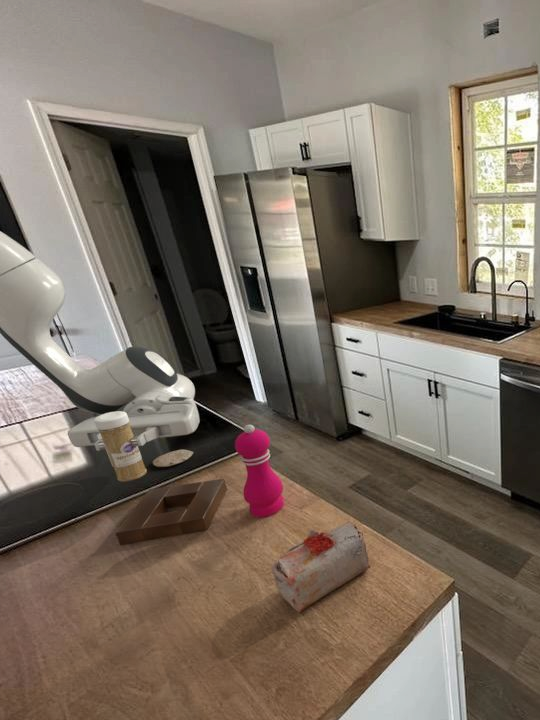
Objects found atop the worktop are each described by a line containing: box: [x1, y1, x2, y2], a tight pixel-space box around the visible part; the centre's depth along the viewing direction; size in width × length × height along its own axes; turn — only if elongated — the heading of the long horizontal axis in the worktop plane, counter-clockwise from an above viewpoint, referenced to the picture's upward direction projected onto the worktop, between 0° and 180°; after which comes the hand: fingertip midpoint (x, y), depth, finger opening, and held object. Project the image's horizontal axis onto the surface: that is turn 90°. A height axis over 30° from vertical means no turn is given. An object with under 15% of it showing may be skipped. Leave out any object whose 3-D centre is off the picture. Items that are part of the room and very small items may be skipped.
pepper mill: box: [234, 424, 285, 518], centre depth 85 cm, size 7×7×20 cm
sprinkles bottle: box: [94, 410, 148, 483], centre depth 80 cm, size 5×5×14 cm
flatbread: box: [152, 449, 194, 468], centre depth 104 cm, size 8×8×1 cm
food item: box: [270, 521, 371, 613], centre depth 69 cm, size 14×8×10 cm, turn 138°
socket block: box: [115, 478, 228, 546], centre depth 85 cm, size 14×14×3 cm
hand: (118, 445), depth 78 cm, fingers closed on sprinkles bottle, 4 cm apart
